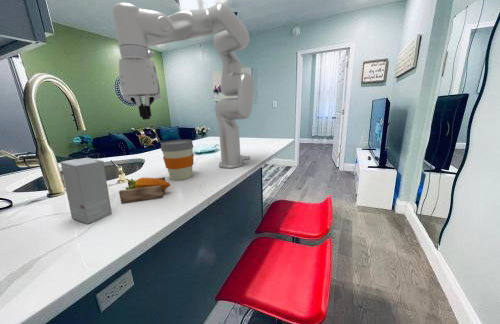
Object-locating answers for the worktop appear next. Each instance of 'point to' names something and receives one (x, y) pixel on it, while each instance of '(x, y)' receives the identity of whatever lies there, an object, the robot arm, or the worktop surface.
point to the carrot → (148, 183)
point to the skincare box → (86, 189)
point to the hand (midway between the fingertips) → (146, 119)
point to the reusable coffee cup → (178, 158)
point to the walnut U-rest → (141, 193)
